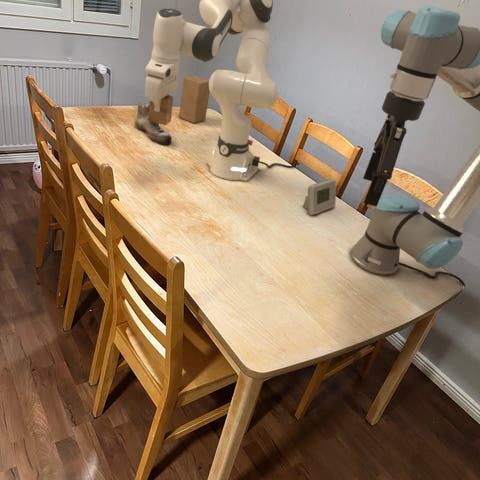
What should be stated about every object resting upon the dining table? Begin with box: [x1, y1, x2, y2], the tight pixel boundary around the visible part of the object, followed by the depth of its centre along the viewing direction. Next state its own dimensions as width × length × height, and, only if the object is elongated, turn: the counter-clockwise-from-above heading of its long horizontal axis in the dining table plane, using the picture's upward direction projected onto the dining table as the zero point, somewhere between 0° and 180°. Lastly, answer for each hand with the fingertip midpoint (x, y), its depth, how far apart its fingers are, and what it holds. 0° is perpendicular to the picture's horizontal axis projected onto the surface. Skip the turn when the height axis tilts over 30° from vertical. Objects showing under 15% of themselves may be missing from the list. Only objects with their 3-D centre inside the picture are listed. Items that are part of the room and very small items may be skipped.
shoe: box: [134, 102, 172, 145], centre depth 194 cm, size 25×11×12 cm, turn 30°
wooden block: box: [178, 75, 210, 124], centre depth 221 cm, size 10×10×20 cm
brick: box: [148, 94, 174, 126], centre depth 148 cm, size 5×6×9 cm
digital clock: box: [302, 178, 337, 216], centre depth 164 cm, size 16×9×11 cm, turn 123°
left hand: (160, 108), depth 148 cm, fingers closed on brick, 5 cm apart
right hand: (369, 191), depth 98 cm, fingers open, 13 cm apart
